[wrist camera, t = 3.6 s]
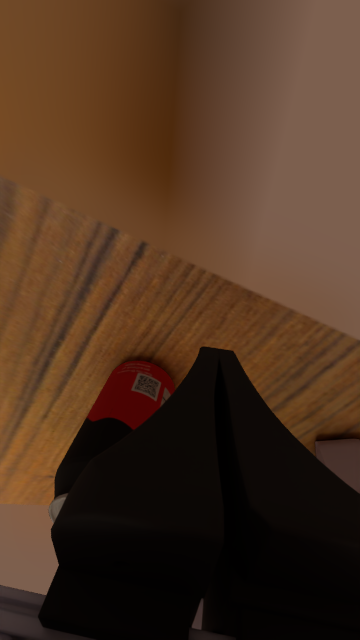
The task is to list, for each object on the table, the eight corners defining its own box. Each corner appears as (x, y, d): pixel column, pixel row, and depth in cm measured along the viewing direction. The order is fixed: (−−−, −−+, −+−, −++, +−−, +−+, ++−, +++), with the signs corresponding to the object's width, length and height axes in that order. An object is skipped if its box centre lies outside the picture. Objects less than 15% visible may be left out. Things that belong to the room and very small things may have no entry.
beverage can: (125, 343, 24) (50, 474, 13) (188, 373, 24) (165, 520, 14) (104, 389, 27) (29, 526, 16) (160, 414, 27) (124, 562, 17)
